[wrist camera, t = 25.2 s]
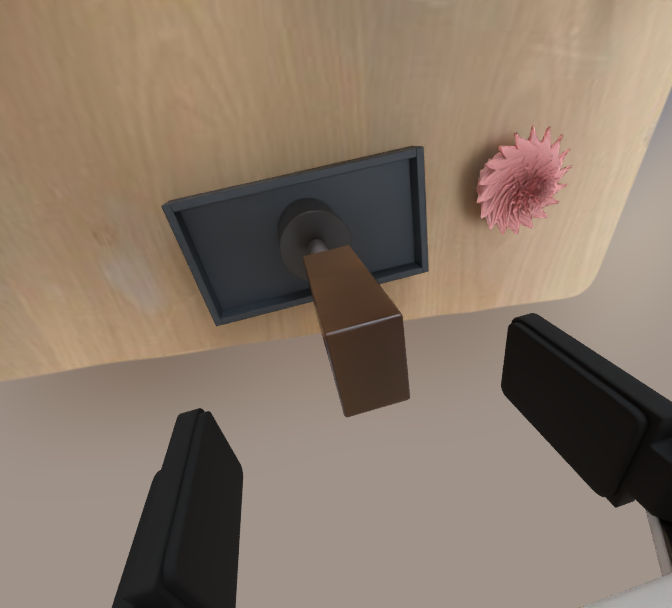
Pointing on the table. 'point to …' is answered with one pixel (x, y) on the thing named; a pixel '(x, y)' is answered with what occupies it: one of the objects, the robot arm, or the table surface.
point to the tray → (262, 230)
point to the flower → (521, 181)
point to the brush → (346, 308)
